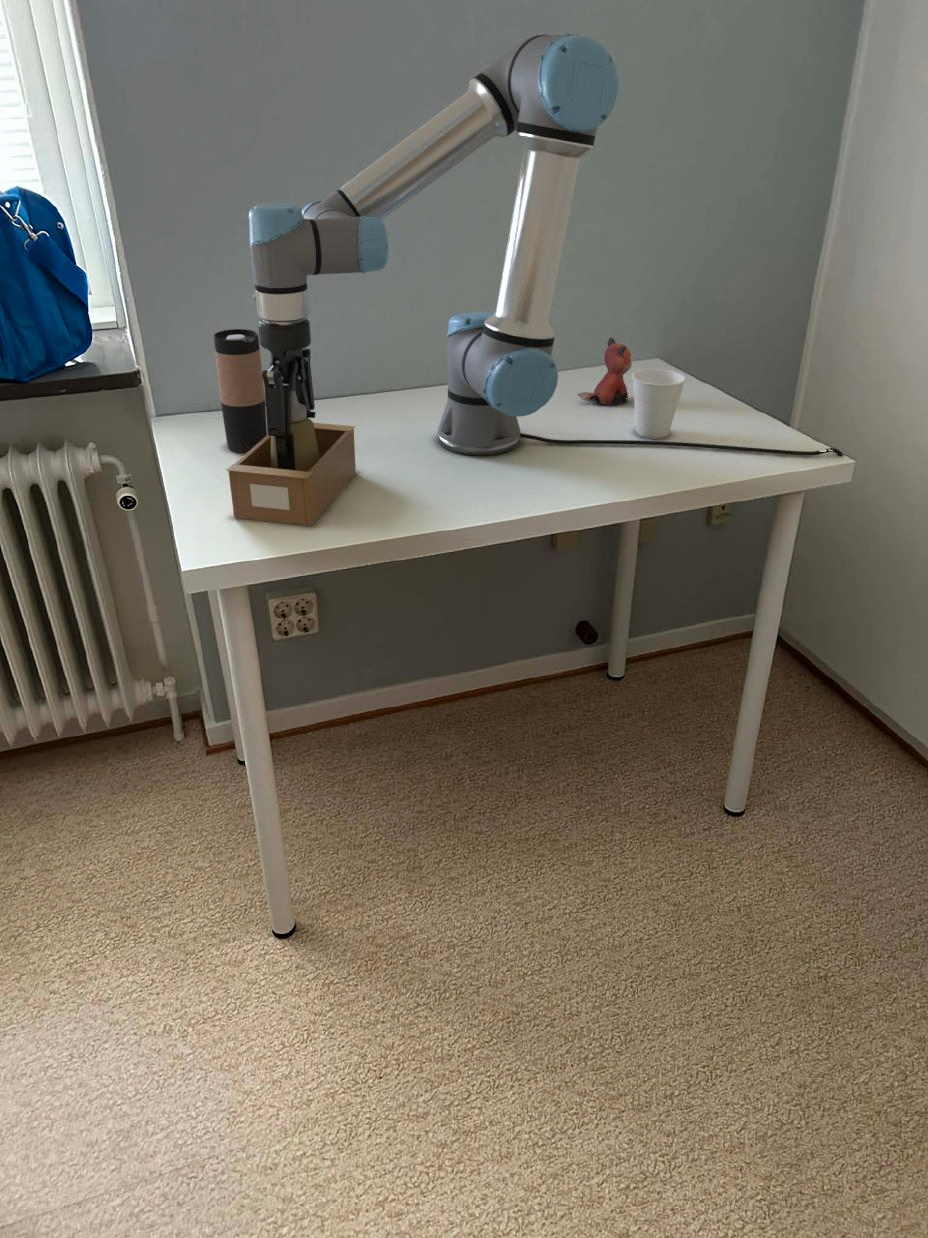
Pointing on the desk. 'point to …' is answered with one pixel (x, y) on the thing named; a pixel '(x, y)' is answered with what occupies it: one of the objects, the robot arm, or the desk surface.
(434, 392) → the desk surface
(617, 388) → the stuffed fox
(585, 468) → the desk surface
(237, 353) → the travel mug
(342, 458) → the wooden box
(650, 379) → the cup
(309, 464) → the squeeze bottle
